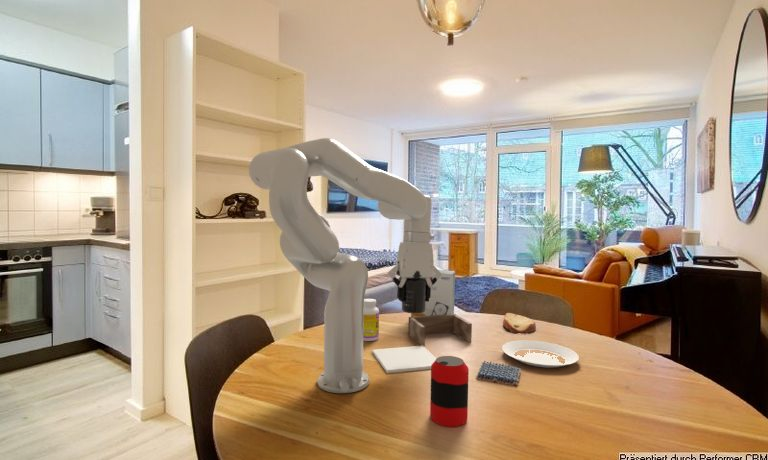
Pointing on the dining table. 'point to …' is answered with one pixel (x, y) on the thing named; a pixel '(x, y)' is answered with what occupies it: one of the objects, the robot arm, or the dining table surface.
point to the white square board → (404, 358)
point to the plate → (540, 358)
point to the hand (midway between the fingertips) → (413, 300)
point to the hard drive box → (441, 296)
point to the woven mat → (499, 373)
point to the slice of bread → (518, 323)
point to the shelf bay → (439, 326)
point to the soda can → (449, 391)
